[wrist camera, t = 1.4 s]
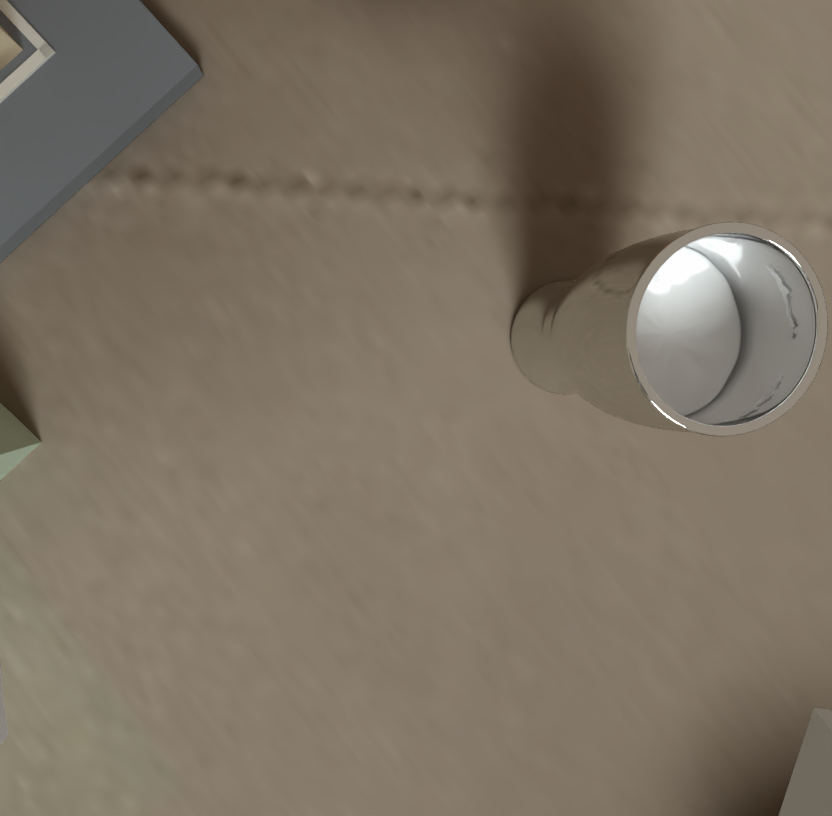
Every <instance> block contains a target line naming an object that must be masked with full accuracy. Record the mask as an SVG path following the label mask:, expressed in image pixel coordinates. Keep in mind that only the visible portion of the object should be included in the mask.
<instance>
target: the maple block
mask: <svg viewBox="0 0 832 816" xmlns="http://www.w3.org/2000/svg"><path fill="white" fill-rule="evenodd" d="M22 50H23V49H22V48H21V47H20V46H19V45H18V44H17V43H16V42H15V41H14V40H13V38H12V37H11V36H10V35H9V34H8V33H7V32H6V31H5V30H4V29H3V28H2V27H1V26H0V71H1V70H2V69H3V68H4V67H5V66H6V65H7V64H8V63H9V62H10V61H12V60H13V59H14V58H15V57H16V56H17V55H18V54H19V53H20V52H21V51H22Z"/></svg>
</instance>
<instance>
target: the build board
mask: <svg viewBox="0 0 832 816" xmlns="http://www.w3.org/2000/svg"><path fill="white" fill-rule="evenodd" d="M0 26H1V27H2V28H3V29H4V30H5V31H6V32H7V33H8V34H9V35H10V36H11V37H12V38H13V40H14V41H15V42H16V43H17V44H18V45H19V46H20V47H21V48H22V49H23V50H22V51H21V52H20V53H19V54H18V55H17V56H16V57H15V58H14V59H13V60H12V61H10V62H9V63H8V64H7V65H6V66H5V67H4V68H3V69H2V70H1V71H0V262H2V261H3V260H4V259H5V258H6V257H7V256H8V255H9V254H10V253H11V252H12V251H14V250H15V249H16V248H17V247H18V246H19V245H20V244H21V243H22V242H23V241H24V240H25V239H27V238H28V237H29V236H30V235H31V234H32V233H33V232H34V231H35V230H36V229H37V228H38V227H40V226H41V225H42V224H43V223H44V222H45V221H46V220H47V219H48V218H49V217H50V216H52V215H53V214H54V213H55V212H56V211H57V210H58V209H59V208H60V207H61V206H62V205H63V204H65V203H66V202H67V201H68V200H69V199H70V198H71V197H72V196H73V195H74V194H75V193H76V192H78V191H79V190H80V189H81V188H82V187H83V186H84V185H85V184H86V183H87V182H88V181H90V180H91V179H92V178H93V177H94V176H95V175H96V174H97V173H98V172H99V171H100V170H101V169H103V168H104V167H105V166H106V165H107V164H108V163H109V162H110V161H111V160H112V159H113V158H115V157H116V156H117V155H118V154H119V153H120V152H121V151H122V150H123V149H124V148H125V147H126V146H128V145H129V144H130V143H131V142H132V141H133V140H134V139H135V138H136V137H137V136H138V135H139V134H141V133H142V132H143V131H144V130H145V129H146V128H147V127H148V126H149V125H150V124H151V123H153V122H154V121H155V120H156V119H157V118H158V117H159V116H160V115H161V114H162V113H163V112H164V111H166V110H167V109H168V108H169V107H170V106H171V105H172V104H173V103H174V102H175V101H176V100H177V99H179V98H180V97H181V96H182V95H183V94H184V93H185V92H186V91H187V90H188V89H189V88H191V87H192V86H193V85H194V84H195V83H196V82H197V81H198V80H199V79H200V78H201V77H202V76H204V75H203V74H202V72H201V70H200V68H199V66H198V64H197V63H196V62H195V61H194V60H193V59H192V58H191V57H190V56H189V55H188V53H187V52H186V51H185V50H184V49H183V48H182V47H181V46H180V45H179V43H178V42H177V41H176V40H175V39H174V38H173V37H172V36H171V35H170V33H169V32H168V31H167V30H166V29H165V28H164V27H163V26H162V25H161V23H160V22H159V21H158V20H157V19H156V18H155V17H154V16H153V15H152V13H151V12H150V11H149V10H148V9H147V8H146V7H145V6H144V5H143V3H142V2H141V1H140V0H0Z"/></svg>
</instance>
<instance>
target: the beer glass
mask: <svg viewBox="0 0 832 816" xmlns="http://www.w3.org/2000/svg"><path fill="white" fill-rule="evenodd" d="M827 333H828V316H827V307H826V301H825V297H824V293H823V290H822V287H821V285H820V282H819V280H818V278H817V276H816V274H815V272H814V270H813V268H812V267H811V265H810V264H809V262H808V261H807V259H806V258H805V257H804V256H803V255H802V253H801V252H800V251H799V250H798V249H797V248H796V247H795V246H794V245H792V244H791V243H790V242H789V241H787V240H786V239H785V238H783V237H782V236H780V235H778V234H777V233H775V232H773V231H771V230H769V229H766V228H763V227H761V226H757V225H754V224H749V223H742V222H720V223H713V224H709V225H705V226H701V227H698V228H696V229H690V230H684V231H679V232H674V233H670V234H665V235H661V236H657V237H653V238H650V239H647V240H643V241H640V242H637V243H634V244H632V245H629V246H627V247H625V248H623V249H620V250H618V251H616V252H614V253H612V254H610V255H608V256H606V257H605V258H603V259H602V260H600V261H599V262H597V263H596V264H594V265H593V266H592V267H590V268H589V269H588V270H586V271H585V272H584V273H583V274H582V275H580V276H579V277H578V278H577V279H576V280H575V281H572V280H565V281H558V282H553V283H550V284H547V285H545V286H543V287H541V288H539V289H538V290H536V291H535V292H533V293H532V294H531V295H530V296H529V297H528V298H527V299H526V300H525V301H524V302H523V304H522V305H521V307H520V308H519V310H518V312H517V314H516V316H515V319H514V322H513V326H512V331H511V347H512V352H513V356H514V359H515V361H516V364H517V366H518V367H519V369H520V371H521V372H522V373H523V375H524V376H525V377H526V378H527V379H528V380H529V381H530V382H531V383H532V384H534V385H535V386H537V387H538V388H540V389H542V390H545V391H547V392H550V393H554V394H562V395H571V394H578V395H579V396H581V397H582V398H583V399H584V400H586V401H587V402H589V403H590V404H592V405H593V406H595V407H597V408H598V409H600V410H602V411H603V412H605V413H607V414H609V415H611V416H614V417H617V418H619V419H622V420H625V421H628V422H631V423H634V424H638V425H642V426H647V427H652V428H657V429H662V430H671V431H679V432H690V433H698V434H702V435H707V436H718V437H725V436H736V435H742V434H746V433H749V432H753V431H756V430H758V429H761V428H763V427H765V426H767V425H769V424H771V423H772V422H774V421H776V420H777V419H779V418H780V417H782V416H783V415H784V414H785V413H787V412H788V411H789V410H790V409H791V408H792V407H793V406H794V405H795V404H796V403H797V402H798V401H799V400H800V399H801V398H802V396H803V395H804V394H805V392H806V391H807V390H808V388H809V387H810V385H811V383H812V382H813V380H814V378H815V376H816V374H817V372H818V370H819V367H820V365H821V362H822V359H823V355H824V352H825V347H826V341H827Z"/></svg>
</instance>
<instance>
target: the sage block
mask: <svg viewBox="0 0 832 816" xmlns="http://www.w3.org/2000/svg"><path fill="white" fill-rule="evenodd" d="M40 443H41V441H40V440H39V439H38V438H37V437H36V436H35V435H34V434H33V433H32V432H31V431H30V430H29V429H27V428H26V427H25V426H24V425H23V424H22V423H21V422H20V421H19V420H18V419H17V418H16V417H15V416H14V415H13V414H12V413H11V412H10V411H9V410H7V409H6V408H5V407H4V406H3V405H2V404H1V403H0V480H1V479H2V478H3V477H5V476H6V475H7V474H8V473H9V472H10V471H11V470H12V469H13V468H14V467H15V466H16V465H17V464H19V463H20V462H21V461H22V460H23V459H24V458H25V457H26V456H27V455H28V454H29V453H30V452H32V451H33V450H34V449H35V448H36V447H37V446H38V445H39V444H40Z"/></svg>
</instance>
